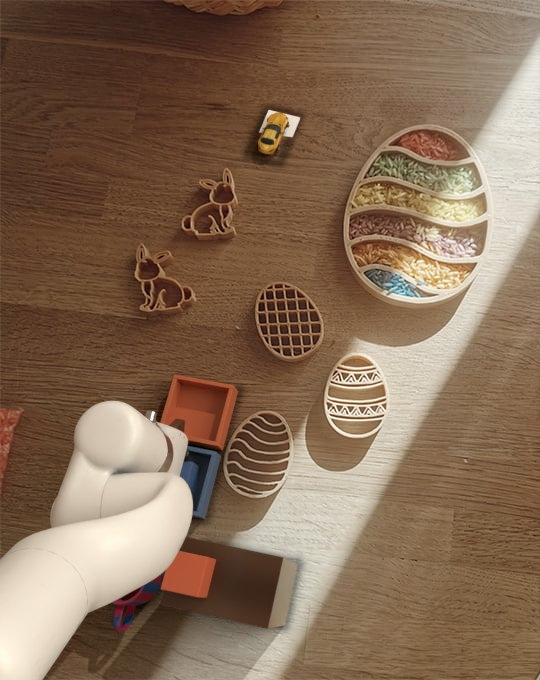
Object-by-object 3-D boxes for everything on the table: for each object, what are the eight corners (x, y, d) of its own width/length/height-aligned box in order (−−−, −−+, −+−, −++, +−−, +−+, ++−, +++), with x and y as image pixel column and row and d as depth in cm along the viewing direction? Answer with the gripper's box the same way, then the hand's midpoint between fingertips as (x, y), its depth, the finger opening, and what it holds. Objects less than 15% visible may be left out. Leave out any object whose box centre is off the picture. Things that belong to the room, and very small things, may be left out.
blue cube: (192, 497, 104) (184, 493, 100) (163, 491, 105) (154, 487, 101) (200, 467, 106) (193, 462, 102) (171, 461, 106) (163, 456, 102)
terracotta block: (206, 597, 85) (197, 597, 81) (170, 590, 86) (160, 589, 82) (216, 559, 87) (208, 557, 83) (181, 551, 87) (171, 549, 83)
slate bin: (205, 519, 104) (199, 516, 101) (144, 506, 105) (136, 503, 102) (221, 456, 107) (216, 451, 104) (162, 444, 108) (155, 439, 105)
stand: (285, 625, 99) (267, 628, 84) (193, 604, 100) (160, 604, 85) (298, 564, 101) (283, 557, 86) (208, 545, 103) (178, 535, 88)
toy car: (293, 119, 126) (291, 111, 124) (276, 160, 124) (274, 152, 121) (271, 114, 127) (269, 105, 125) (254, 154, 124) (251, 146, 122)
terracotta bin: (223, 451, 107) (217, 446, 104) (163, 439, 108) (156, 434, 105) (238, 391, 110) (233, 385, 107) (180, 381, 111) (174, 374, 108)
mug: (167, 559, 103) (152, 555, 96) (148, 634, 99) (132, 636, 93) (121, 550, 103) (104, 547, 97) (102, 625, 100) (82, 626, 94)
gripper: (131, 382, 91) (171, 417, 108) (89, 518, 85) (138, 533, 102) (189, 393, 90) (220, 427, 107) (150, 531, 84) (189, 543, 102)
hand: (180, 478), depth 104 cm, fingers closed on blue cube, 4 cm apart
